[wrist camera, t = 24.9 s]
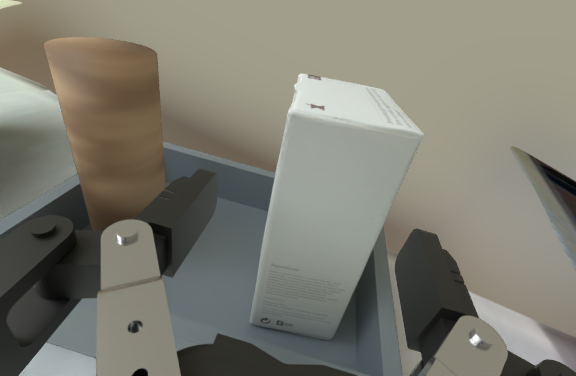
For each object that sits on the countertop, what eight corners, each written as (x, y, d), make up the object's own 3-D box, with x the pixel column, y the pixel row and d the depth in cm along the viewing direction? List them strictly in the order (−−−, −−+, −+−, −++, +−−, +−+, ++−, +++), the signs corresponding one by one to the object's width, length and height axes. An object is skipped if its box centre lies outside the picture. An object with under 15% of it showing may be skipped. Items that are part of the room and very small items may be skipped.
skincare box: (331, 343, 19) (440, 142, 11) (242, 326, 19) (287, 107, 11) (328, 251, 26) (393, 86, 18) (262, 238, 26) (299, 64, 18)
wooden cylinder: (80, 252, 21) (15, 43, 13) (127, 212, 25) (98, 34, 18) (143, 273, 21) (114, 69, 13) (180, 229, 25) (175, 53, 17)
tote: (-28, 318, 17) (-68, 260, 15) (144, 177, 32) (140, 135, 29) (368, 445, 16) (406, 409, 13) (362, 240, 30) (379, 201, 28)
